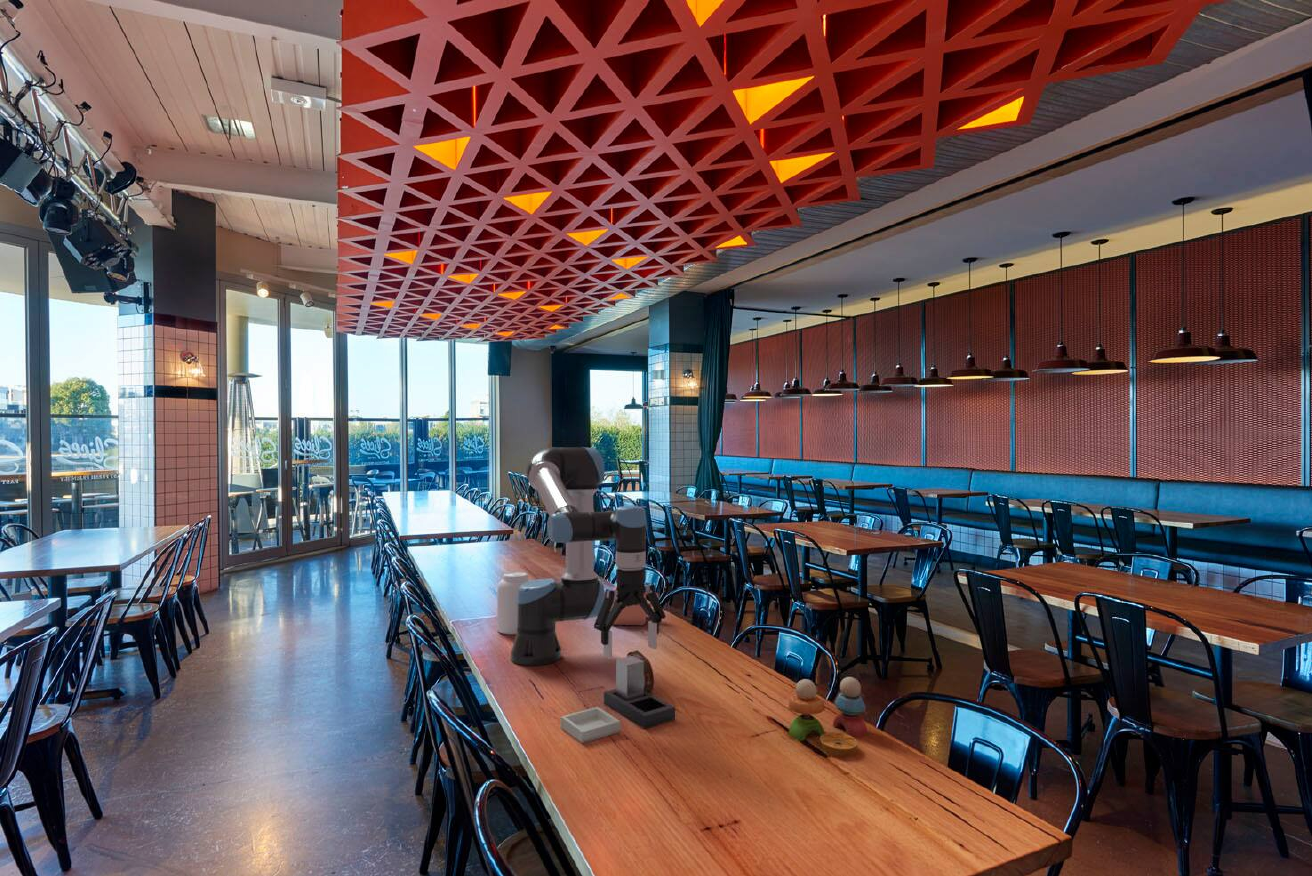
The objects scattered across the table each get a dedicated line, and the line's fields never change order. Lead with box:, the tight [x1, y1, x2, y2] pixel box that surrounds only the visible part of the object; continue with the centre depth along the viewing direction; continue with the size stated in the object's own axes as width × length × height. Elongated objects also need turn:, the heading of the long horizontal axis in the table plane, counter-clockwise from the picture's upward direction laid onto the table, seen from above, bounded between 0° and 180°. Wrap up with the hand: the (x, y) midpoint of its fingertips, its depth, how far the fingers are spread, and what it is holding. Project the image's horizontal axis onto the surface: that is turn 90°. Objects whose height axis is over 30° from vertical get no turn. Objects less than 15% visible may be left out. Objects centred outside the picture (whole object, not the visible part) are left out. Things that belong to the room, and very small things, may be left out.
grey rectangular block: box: [615, 656, 644, 701], centre depth 165 cm, size 5×5×11 cm
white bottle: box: [496, 571, 532, 636], centre depth 230 cm, size 12×12×20 cm
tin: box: [626, 649, 655, 692], centre depth 179 cm, size 15×3×8 cm, turn 22°
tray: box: [560, 706, 621, 744], centre depth 151 cm, size 10×10×2 cm
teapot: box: [604, 585, 659, 626], centre depth 246 cm, size 20×22×14 cm
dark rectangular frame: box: [603, 688, 676, 730], centre depth 162 cm, size 18×9×3 cm, turn 36°
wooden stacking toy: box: [788, 676, 868, 758], centre depth 149 cm, size 18×17×12 cm
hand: (630, 652), depth 165 cm, fingers open, 13 cm apart
